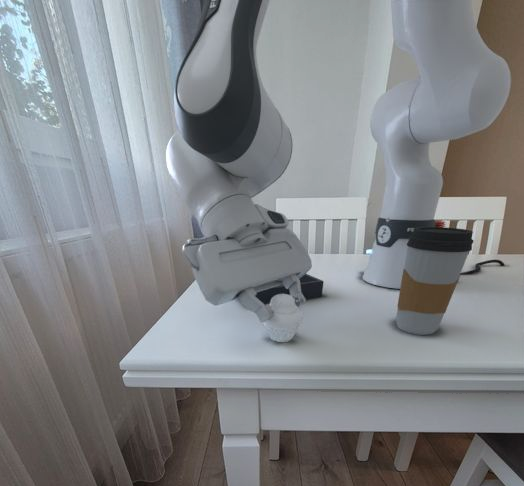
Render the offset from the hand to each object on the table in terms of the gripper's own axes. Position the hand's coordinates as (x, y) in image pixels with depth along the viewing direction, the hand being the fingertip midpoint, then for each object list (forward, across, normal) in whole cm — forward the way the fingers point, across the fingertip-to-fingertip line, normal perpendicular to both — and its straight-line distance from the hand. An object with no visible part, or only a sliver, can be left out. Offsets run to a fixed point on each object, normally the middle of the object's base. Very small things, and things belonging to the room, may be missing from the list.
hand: (285, 311), depth 42 cm
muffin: (+3, 0, +4) cm, 5 cm away
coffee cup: (+12, +18, -6) cm, 23 cm away
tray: (-9, +16, +15) cm, 24 cm away
